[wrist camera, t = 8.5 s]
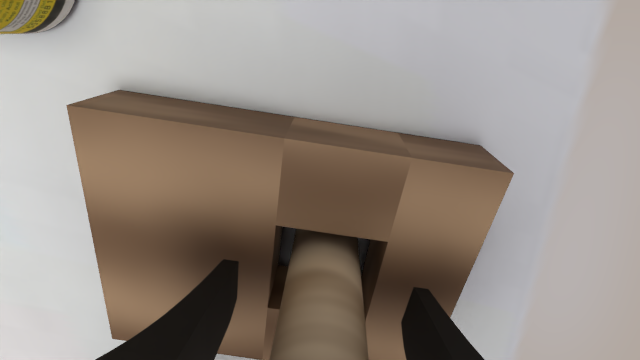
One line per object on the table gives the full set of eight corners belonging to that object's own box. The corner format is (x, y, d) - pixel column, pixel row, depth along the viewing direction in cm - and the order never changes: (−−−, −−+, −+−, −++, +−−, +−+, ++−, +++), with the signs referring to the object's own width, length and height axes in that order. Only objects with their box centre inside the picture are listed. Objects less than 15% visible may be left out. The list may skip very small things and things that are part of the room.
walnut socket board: (409, 332, 20) (421, 382, 17) (144, 294, 19) (112, 338, 17) (480, 145, 14) (513, 173, 12) (118, 90, 14) (66, 105, 11)
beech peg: (351, 264, 18) (362, 470, 9) (292, 256, 18) (252, 455, 9) (362, 214, 16) (387, 405, 8) (299, 205, 16) (259, 387, 8)
